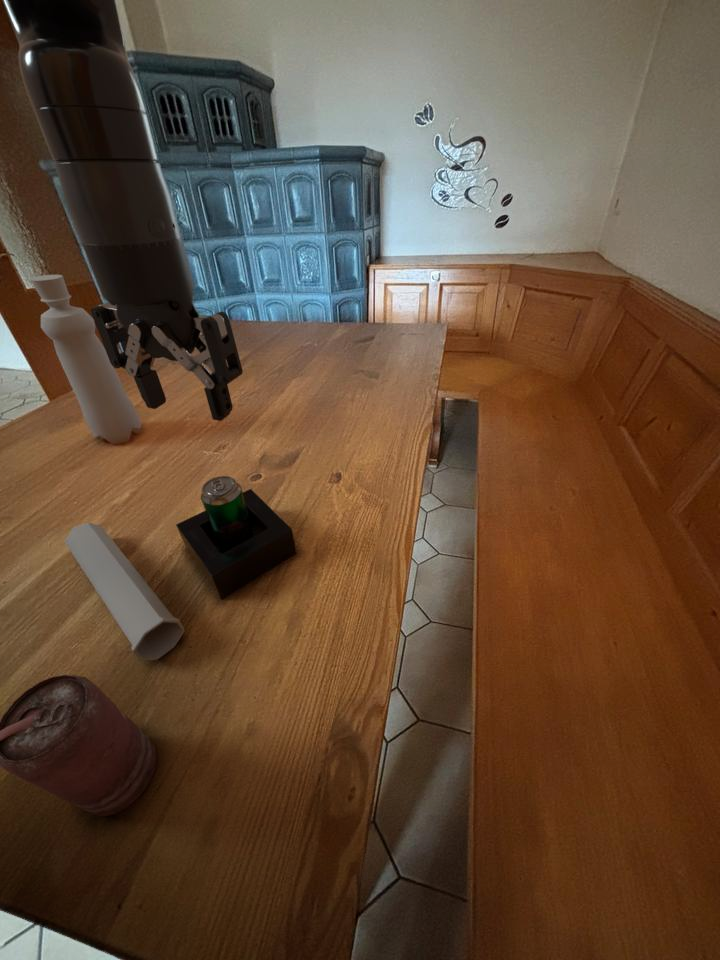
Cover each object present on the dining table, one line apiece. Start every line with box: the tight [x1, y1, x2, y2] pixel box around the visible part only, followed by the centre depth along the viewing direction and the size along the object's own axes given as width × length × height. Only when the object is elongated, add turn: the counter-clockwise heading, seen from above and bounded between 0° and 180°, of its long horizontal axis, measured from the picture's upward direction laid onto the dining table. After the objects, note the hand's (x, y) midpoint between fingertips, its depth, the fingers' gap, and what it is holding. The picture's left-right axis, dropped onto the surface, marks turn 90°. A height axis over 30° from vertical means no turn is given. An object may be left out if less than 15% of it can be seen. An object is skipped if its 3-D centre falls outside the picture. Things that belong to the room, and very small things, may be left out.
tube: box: [64, 522, 186, 662], centre depth 49 cm, size 5×5×25 cm
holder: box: [176, 488, 297, 600], centre depth 54 cm, size 12×12×5 cm
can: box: [0, 674, 157, 817], centre depth 31 cm, size 6×6×14 cm
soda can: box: [200, 475, 255, 554], centre depth 52 cm, size 5×5×12 cm
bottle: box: [29, 274, 142, 445], centre depth 71 cm, size 9×9×30 cm
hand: (189, 411), depth 41 cm, fingers open, 8 cm apart
